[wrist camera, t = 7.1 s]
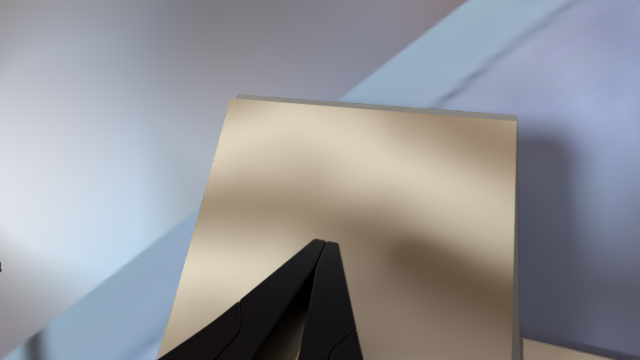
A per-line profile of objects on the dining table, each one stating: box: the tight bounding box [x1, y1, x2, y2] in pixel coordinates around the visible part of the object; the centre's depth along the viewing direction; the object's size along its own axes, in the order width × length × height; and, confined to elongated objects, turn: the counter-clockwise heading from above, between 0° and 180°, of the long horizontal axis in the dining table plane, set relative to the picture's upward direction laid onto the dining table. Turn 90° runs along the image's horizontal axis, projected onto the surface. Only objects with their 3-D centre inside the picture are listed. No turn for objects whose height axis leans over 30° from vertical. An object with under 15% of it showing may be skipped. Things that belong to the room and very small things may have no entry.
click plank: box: [158, 98, 517, 360], centre depth 12 cm, size 13×14×1 cm
